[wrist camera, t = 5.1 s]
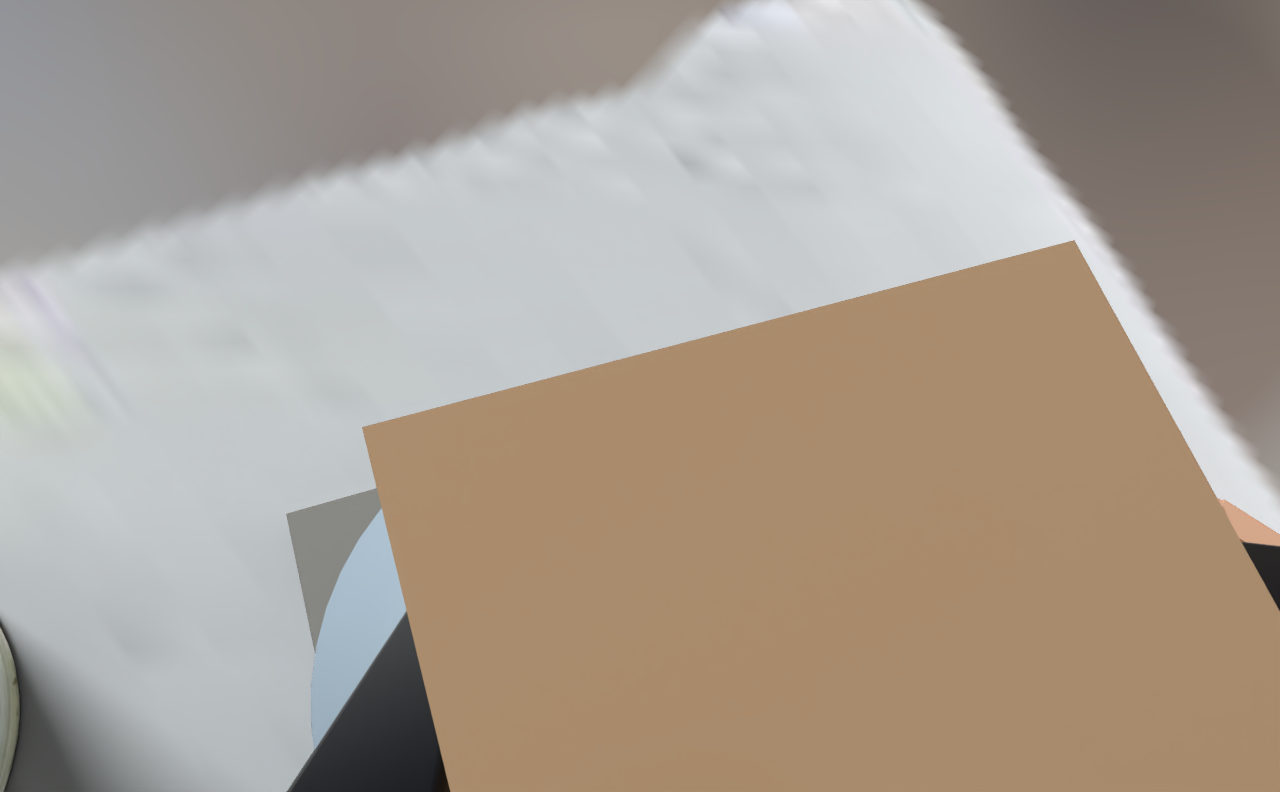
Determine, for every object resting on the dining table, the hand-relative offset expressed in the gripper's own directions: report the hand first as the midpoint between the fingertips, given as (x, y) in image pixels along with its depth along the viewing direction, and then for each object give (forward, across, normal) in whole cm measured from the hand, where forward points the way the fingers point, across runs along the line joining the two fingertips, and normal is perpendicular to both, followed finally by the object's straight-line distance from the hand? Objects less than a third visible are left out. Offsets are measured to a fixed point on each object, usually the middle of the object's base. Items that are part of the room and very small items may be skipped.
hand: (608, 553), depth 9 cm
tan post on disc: (+4, 0, -6) cm, 7 cm away
